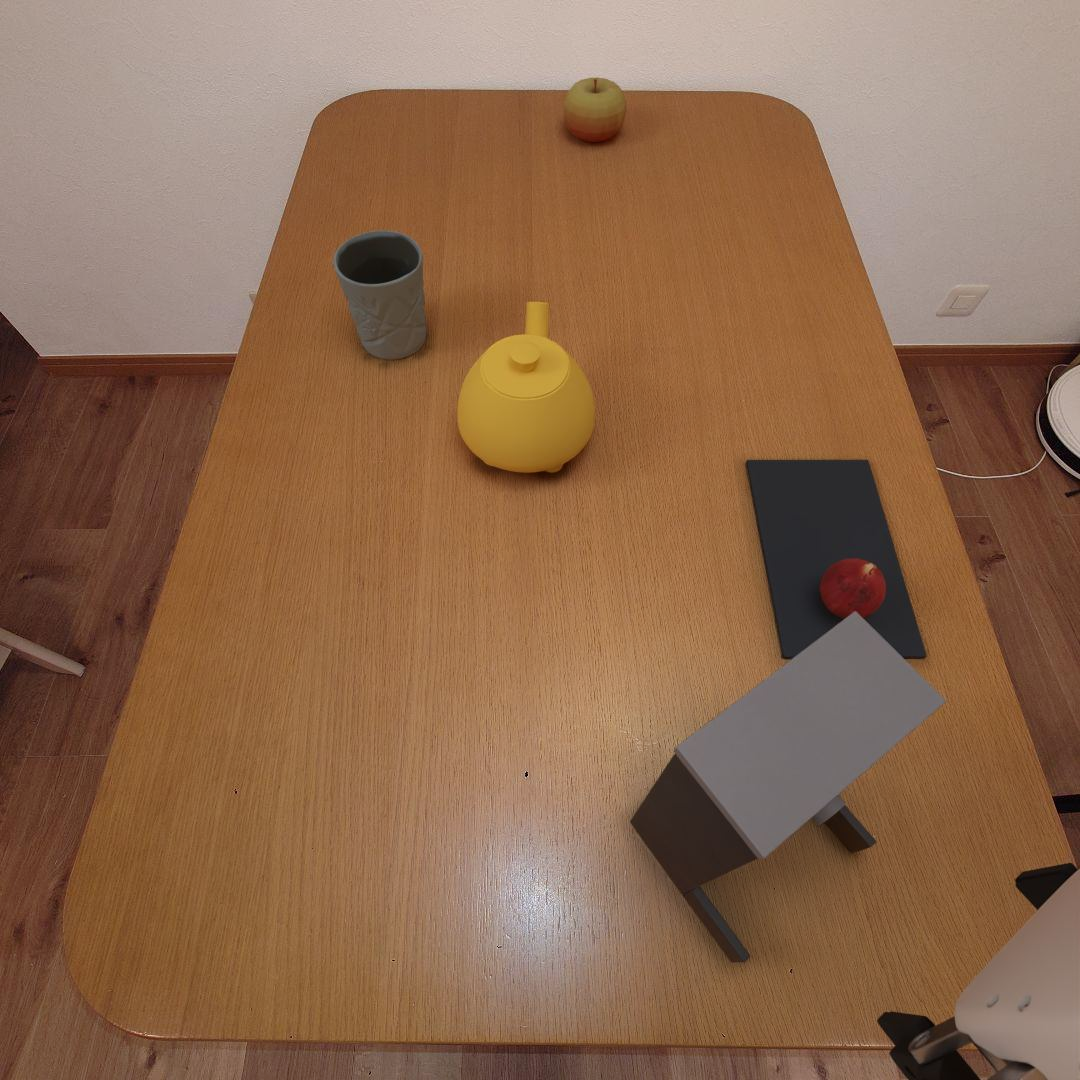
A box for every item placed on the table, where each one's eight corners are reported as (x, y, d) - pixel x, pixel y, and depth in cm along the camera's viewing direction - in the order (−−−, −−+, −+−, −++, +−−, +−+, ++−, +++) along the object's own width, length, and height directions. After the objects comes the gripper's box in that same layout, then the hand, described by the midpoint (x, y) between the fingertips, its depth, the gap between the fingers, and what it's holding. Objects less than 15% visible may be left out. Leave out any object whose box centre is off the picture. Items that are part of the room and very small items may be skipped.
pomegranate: (864, 638, 71) (899, 604, 64) (805, 621, 72) (834, 585, 65) (870, 589, 73) (904, 550, 67) (813, 573, 74) (842, 533, 68)
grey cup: (342, 352, 91) (317, 274, 81) (376, 300, 96) (357, 221, 86) (415, 371, 89) (399, 294, 79) (446, 318, 94) (435, 238, 84)
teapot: (480, 355, 91) (471, 264, 79) (602, 368, 90) (611, 277, 78) (448, 483, 81) (433, 400, 69) (585, 498, 80) (594, 417, 68)
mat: (924, 658, 70) (927, 656, 70) (782, 658, 70) (784, 656, 70) (866, 462, 83) (868, 459, 82) (745, 462, 82) (746, 459, 82)
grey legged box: (859, 847, 61) (1033, 785, 40) (730, 964, 57) (848, 964, 36) (752, 724, 67) (855, 610, 45) (627, 821, 62) (675, 746, 41)
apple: (595, 110, 120) (598, 58, 113) (635, 135, 116) (642, 83, 109) (550, 131, 117) (551, 79, 110) (590, 158, 113) (594, 106, 106)
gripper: (1329, 1480, 14) (917, 1212, 28) (1652, 900, 19) (1161, 928, 33) (999, 1080, 17) (782, 1025, 31) (1353, 676, 22) (1024, 791, 37)
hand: (978, 975), depth 32 cm, fingers open, 9 cm apart
